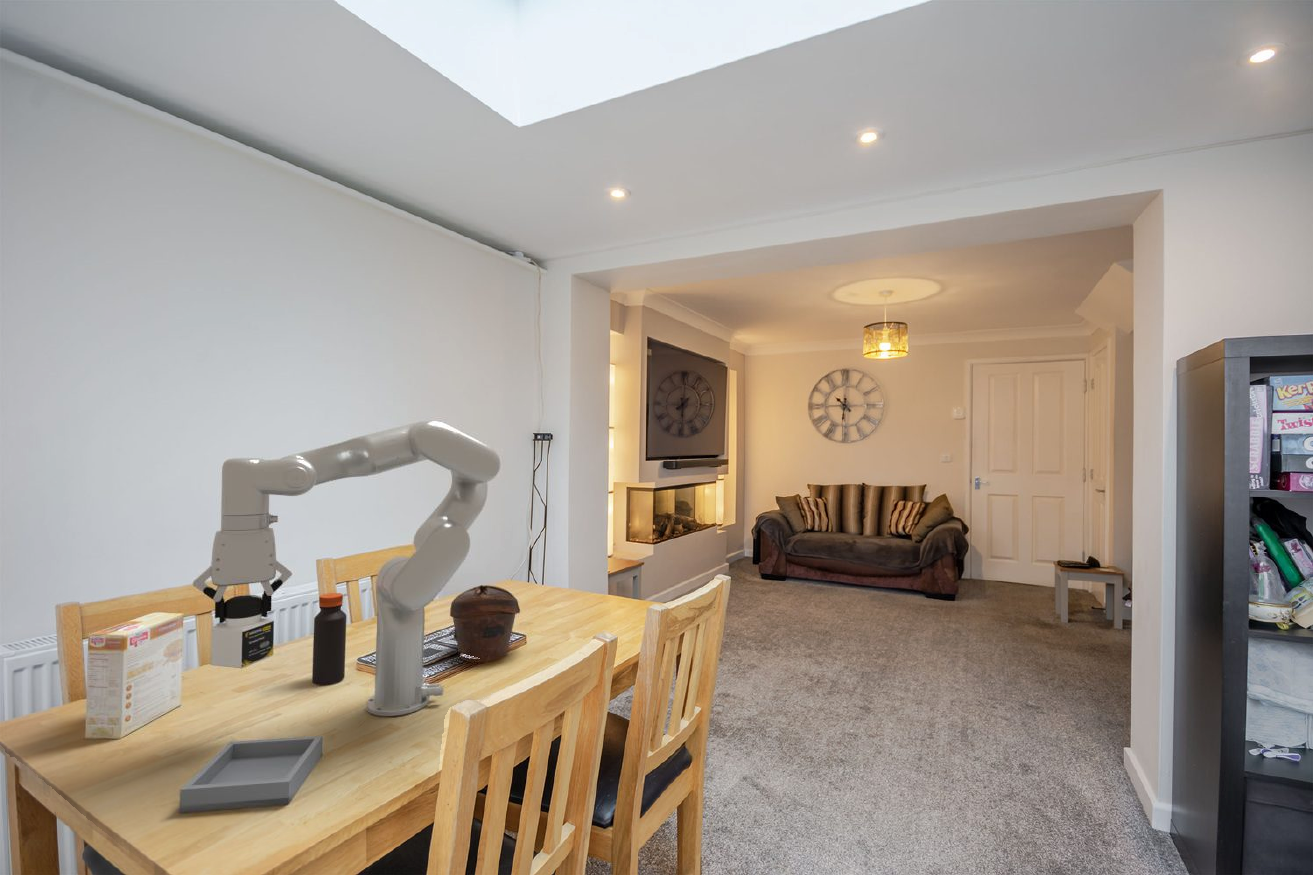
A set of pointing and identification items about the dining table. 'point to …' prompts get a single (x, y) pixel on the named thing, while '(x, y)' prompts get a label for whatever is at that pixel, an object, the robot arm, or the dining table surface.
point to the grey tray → (252, 774)
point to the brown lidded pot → (484, 622)
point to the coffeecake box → (133, 674)
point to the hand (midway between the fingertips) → (243, 617)
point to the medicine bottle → (242, 634)
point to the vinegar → (329, 641)
